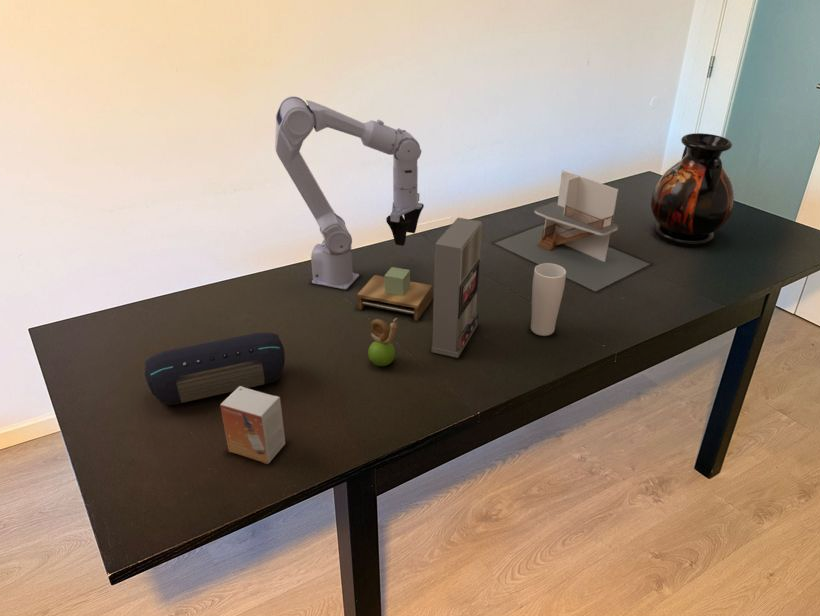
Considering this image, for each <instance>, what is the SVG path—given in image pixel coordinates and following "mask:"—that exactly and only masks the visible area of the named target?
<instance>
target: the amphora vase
mask: <svg viewBox="0 0 820 616" xmlns="http://www.w3.org/2000/svg"><path fill="white" fill-rule="evenodd" d="M680 142H681V144H682V145H683V146H684V149H683V153H682V156H681V159H680V160H679V161H678V162H676V163H675V164H674V165H672V166H671V167H669V168H668V169H667V170H666V171H665V172H664V173H663V174H662V176H661V177H660V178H659V180H658V181H657V183H656V185H655V186H654V189H653V192H652V194H651V201H650V208H651V213H652V215H653V218H654V219H655V221H656V222H657V223H656V224H655V225H654V233H655V234H656V236H657V237H659V238H660V239H661V240H663V241H664V242H667V243H669V244H673V245H675V246H680V247H687V248H689V247H690V248H695V247H703V246H707V245H708V244H711V243H712V242H713V240H714V239H715V232H716V231H717V230H719V229H720V228H722V227H723V226H724V225H725V224H726V223H727V221H728V220H729V219H730V217H731V214H732V211H733V208H734V200H735V196H734V195H735V194H734V188H733V183H732V180H731V178H730V176H729V175H728V173H727V171H726V170H725V168H724V167H723V162H722V159H721V157H722V154H723V153H724V152H727V151H729V150H731V149H732V147H733V143H732V141H731V140H729V139H728V138H726V137H725V136H721V135H717V134H709V133H702V132H700V133H697V132H696V133H688V134H685V135H683V136H682V137H681V138H680Z"/></svg>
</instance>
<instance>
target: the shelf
mask: <svg viewBox="0 0 820 616" xmlns="http://www.w3.org/2000/svg"><path fill="white" fill-rule="evenodd" d="M356 296H357V309H358V310H359V311H360V310H361V311H363V309H364V308H365V307H366V306H367V307H370V308H371V307H372V308H377V309H383V310H386V311H387V310H388V311H393V312H396V313H402V314H407V315H412V316H413V321H415V322H418V321H419V320H420V318H421V316H422V315H423V314H424V313H425V311H426V309H427V308H428V306H429V305H430V304H431V302H432V300H433V285H432V284H426V283H422V282H415V281H411V280H410V288H409V289H408V291H407V292H406V293H405V295H404V296H399V295H394V294H388V293H385V276H382V275H378V274H374V275H373V276H372V277H371V278H370V279H369V280H368V281H367V282H366V284H365V285H364V286H363V287H362V288H361V290H360V291H359V292H358V293H357V295H356ZM373 301H375V302H373ZM379 302H380V303H379ZM383 303H384V304H383ZM385 303H386V304H385ZM388 304H389V305H388ZM391 304H392V305H391ZM394 305H395V306H394ZM398 306H401V307H398ZM405 307H406V308H405ZM408 308H412V309H408Z"/></svg>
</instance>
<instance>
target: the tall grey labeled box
mask: <svg viewBox="0 0 820 616" xmlns="http://www.w3.org/2000/svg"><path fill="white" fill-rule="evenodd" d="M482 229H483V221H481V220H475V219H469V218H463V217H457V218H456V219H455V220H454V222H453V223H451V225H450V226H449V227H448V228H447V229H446V230H445V232H443V234H442V235H441V236H440V237H439V238H438V240H437V241H436V242H435V243H434V262H433V263H434V267H433V268H434V269H433V306H432V313H433V314H432V340H431V341H432V342H431V344H432V345H431V347H430V349H431V351H430V352H431V353H434V354H438V355H443V356H446V357H450V358H451V357H452V358H456V359H459V357H460V355H462V352H463V350H464V349H465V347H466V345H467V344H468V342H469V340H470V339H471V337H472V336H473V334H474V332H475V330H476V328H477V327H478V326H479V311H477V301H478V291H479V277H480V262H481V261H480V259H481V245H482V244H481V243H482Z"/></svg>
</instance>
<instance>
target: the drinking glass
mask: <svg viewBox="0 0 820 616" xmlns="http://www.w3.org/2000/svg"><path fill="white" fill-rule="evenodd" d="M566 279H567V278H566V270H565V269H564V268H563V267H561V266H559V265H556V264H551V263H544V264H540V265H539V264H536V265H535V267H534V269H533V275H532V283H531V284H532V285H531V314H530V315H531V316H530V317H531V318H530V319H531V320H530V331H531V332H532V333H534V334H535V335H538V336H540V337H542V336H543V337H547V336H551V335H552V334H554V332H555V330H556V325H557V320H558V317H559V316H558V315H559V310H560V308H561V303H562V300H563V296H564V292H565V287H566V286H565V285H566Z"/></svg>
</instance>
